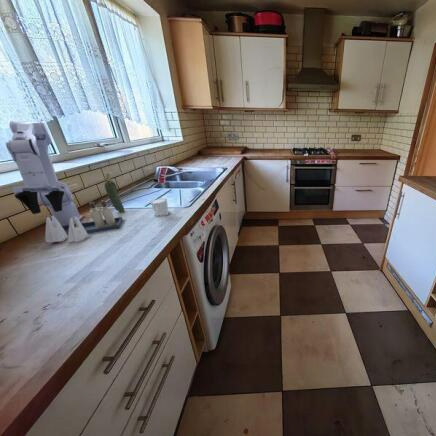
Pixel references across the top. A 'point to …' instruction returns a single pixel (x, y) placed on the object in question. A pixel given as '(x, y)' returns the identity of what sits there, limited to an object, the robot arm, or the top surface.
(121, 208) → the vegetable
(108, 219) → the bottle
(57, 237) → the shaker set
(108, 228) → the tray
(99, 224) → the bottle
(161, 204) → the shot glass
